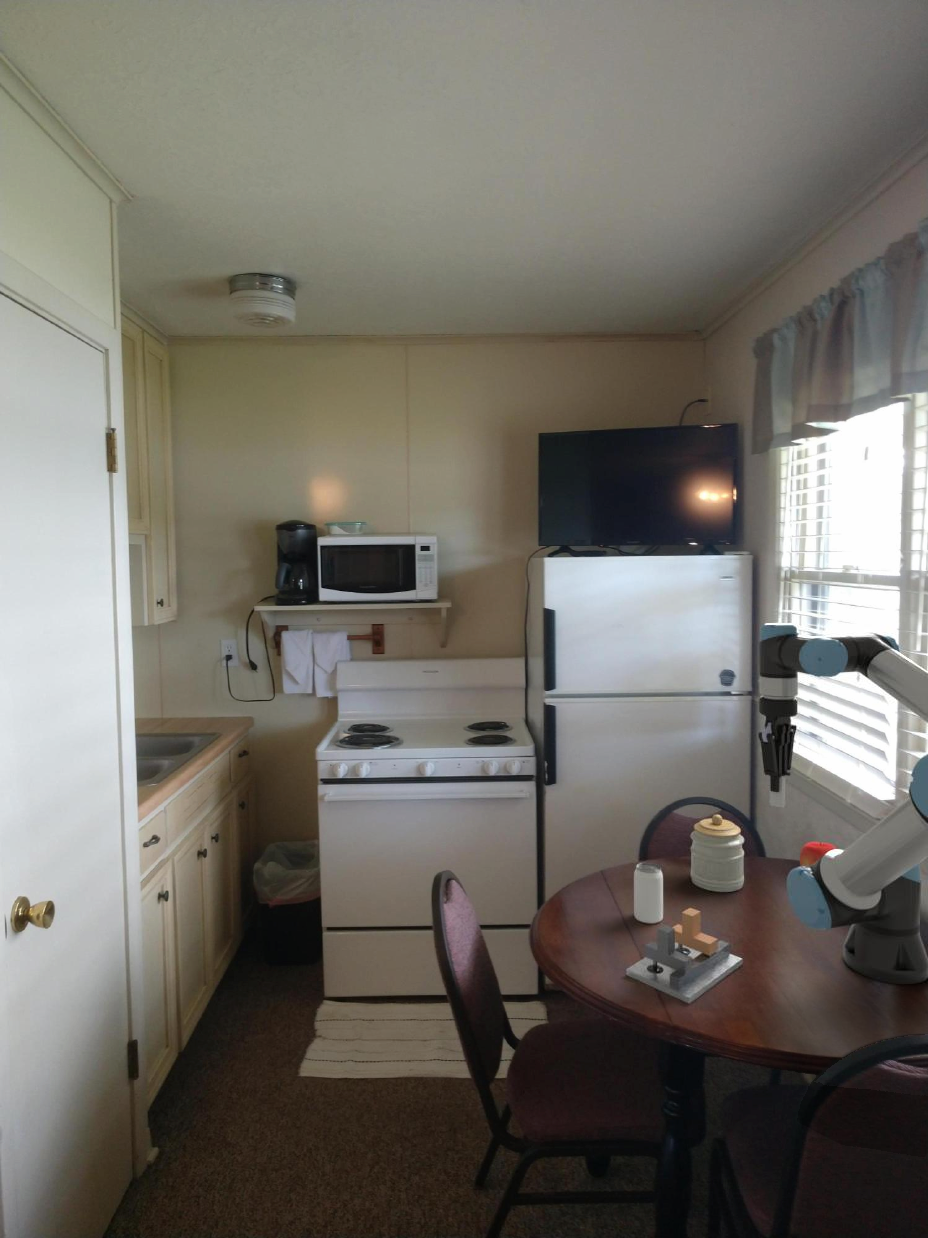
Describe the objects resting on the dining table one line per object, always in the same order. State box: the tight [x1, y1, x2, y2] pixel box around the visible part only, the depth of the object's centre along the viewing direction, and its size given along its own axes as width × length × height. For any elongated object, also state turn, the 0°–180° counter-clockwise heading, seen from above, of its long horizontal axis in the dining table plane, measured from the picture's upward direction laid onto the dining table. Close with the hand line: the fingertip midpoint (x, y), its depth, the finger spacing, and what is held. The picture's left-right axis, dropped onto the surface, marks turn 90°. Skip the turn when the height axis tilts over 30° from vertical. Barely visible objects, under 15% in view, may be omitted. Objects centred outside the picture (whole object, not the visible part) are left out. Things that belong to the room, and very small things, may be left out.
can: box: [633, 862, 664, 925], centre depth 175 cm, size 6×6×12 cm
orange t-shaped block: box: [671, 907, 719, 956], centre depth 154 cm, size 9×3×9 cm, turn 42°
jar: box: [690, 814, 745, 893], centre depth 194 cm, size 13×13×18 cm
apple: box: [799, 841, 837, 866], centre depth 193 cm, size 10×10×10 cm
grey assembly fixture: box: [625, 924, 743, 1004], centre depth 152 cm, size 14×20×10 cm
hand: (777, 805), depth 162 cm, fingers closed
